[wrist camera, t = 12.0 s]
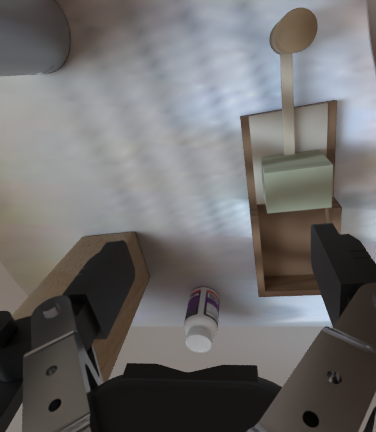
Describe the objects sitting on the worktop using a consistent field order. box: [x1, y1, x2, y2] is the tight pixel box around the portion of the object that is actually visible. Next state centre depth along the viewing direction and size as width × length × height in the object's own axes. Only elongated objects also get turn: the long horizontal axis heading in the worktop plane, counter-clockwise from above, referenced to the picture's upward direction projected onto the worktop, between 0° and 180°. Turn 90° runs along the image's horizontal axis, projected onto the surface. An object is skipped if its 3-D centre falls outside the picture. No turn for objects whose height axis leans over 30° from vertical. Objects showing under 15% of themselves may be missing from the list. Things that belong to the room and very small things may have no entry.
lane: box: [240, 100, 342, 297], centre depth 39 cm, size 26×11×4 cm, turn 11°
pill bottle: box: [184, 287, 219, 352], centre depth 47 cm, size 5×5×10 cm
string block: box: [261, 8, 333, 214], centre depth 31 cm, size 19×7×7 cm, turn 11°
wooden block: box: [12, 232, 150, 382], centre depth 41 cm, size 10×10×20 cm
